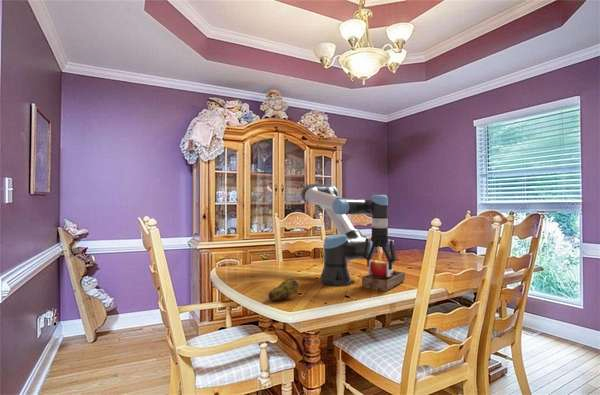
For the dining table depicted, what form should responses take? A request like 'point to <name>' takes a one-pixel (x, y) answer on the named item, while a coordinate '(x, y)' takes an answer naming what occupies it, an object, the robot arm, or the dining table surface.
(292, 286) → the avocado
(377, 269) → the apple
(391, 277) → the wooden tray
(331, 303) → the dining table surface
